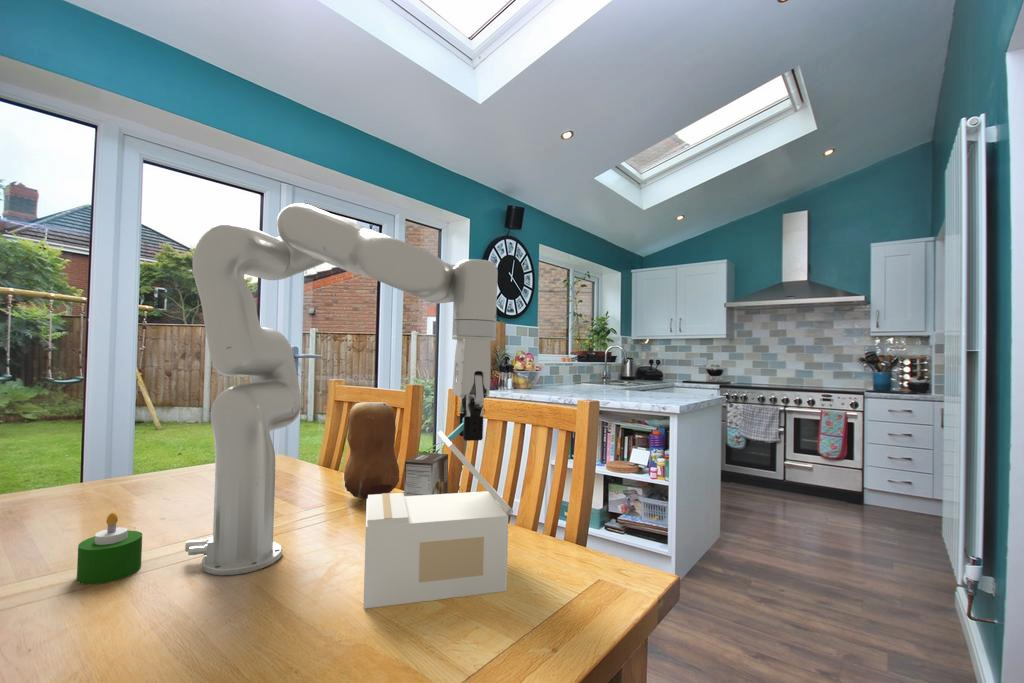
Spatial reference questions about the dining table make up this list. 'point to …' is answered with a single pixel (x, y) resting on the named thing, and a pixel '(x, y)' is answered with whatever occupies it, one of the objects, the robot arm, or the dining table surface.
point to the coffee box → (426, 475)
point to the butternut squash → (371, 450)
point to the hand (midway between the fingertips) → (470, 436)
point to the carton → (433, 547)
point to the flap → (471, 468)
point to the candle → (109, 554)
